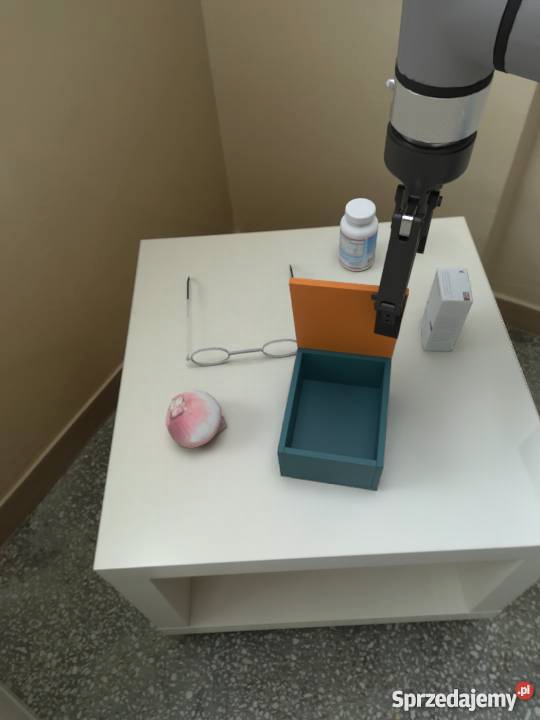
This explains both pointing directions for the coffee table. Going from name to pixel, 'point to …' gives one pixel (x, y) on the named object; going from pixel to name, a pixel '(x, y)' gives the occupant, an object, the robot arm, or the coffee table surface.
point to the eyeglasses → (240, 350)
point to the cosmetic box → (446, 309)
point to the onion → (194, 418)
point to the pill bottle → (358, 235)
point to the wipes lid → (337, 317)
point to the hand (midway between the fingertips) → (400, 289)
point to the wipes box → (336, 418)
